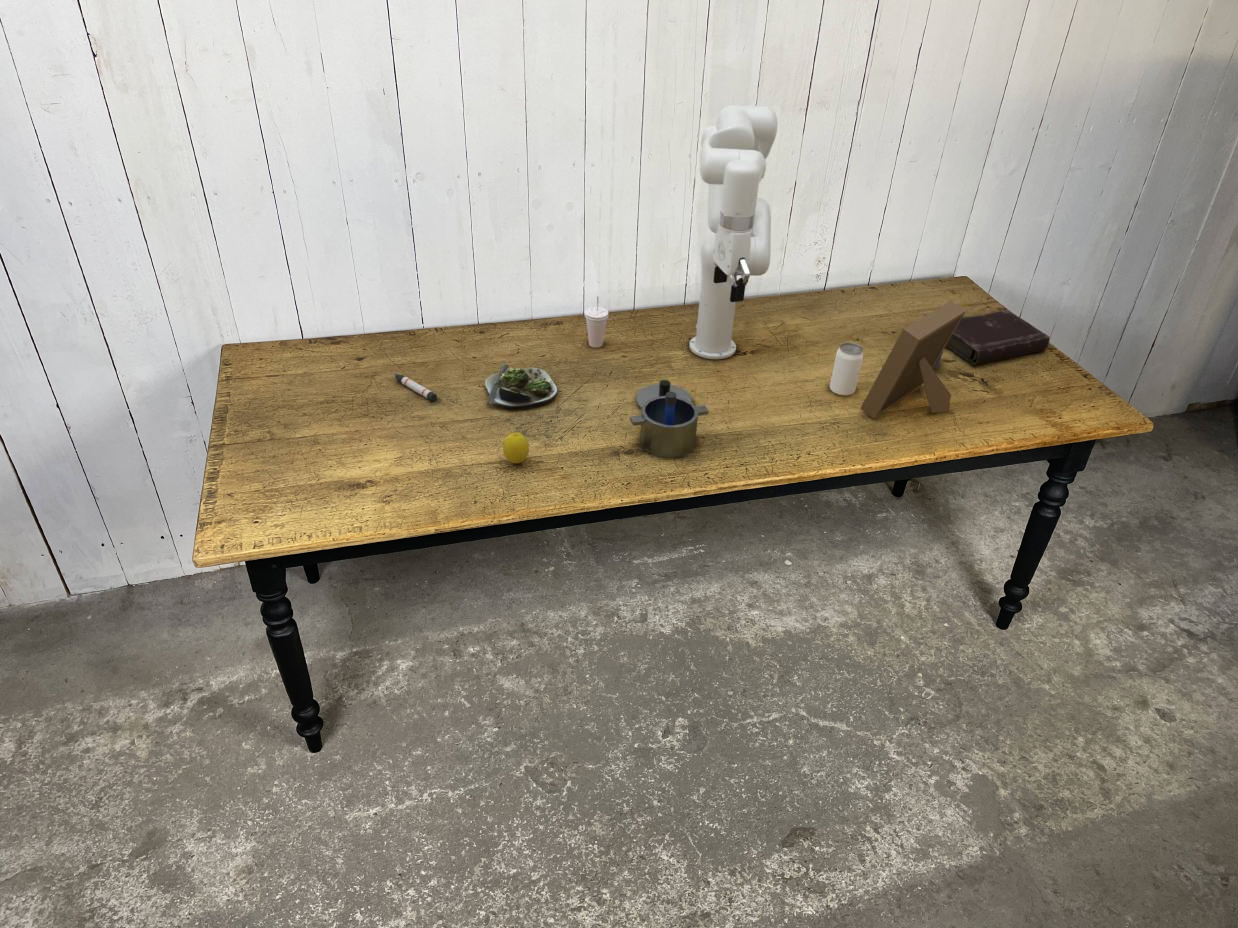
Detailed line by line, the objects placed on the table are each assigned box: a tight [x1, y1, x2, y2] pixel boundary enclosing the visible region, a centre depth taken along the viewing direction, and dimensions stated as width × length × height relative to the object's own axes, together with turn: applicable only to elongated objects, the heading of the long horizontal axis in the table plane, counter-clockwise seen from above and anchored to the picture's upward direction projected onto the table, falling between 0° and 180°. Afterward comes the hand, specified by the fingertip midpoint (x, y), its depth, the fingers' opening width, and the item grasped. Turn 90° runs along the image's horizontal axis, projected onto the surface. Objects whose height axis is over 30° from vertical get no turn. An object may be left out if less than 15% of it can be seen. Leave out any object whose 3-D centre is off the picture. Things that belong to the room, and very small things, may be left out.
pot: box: [629, 396, 709, 459], centre depth 196 cm, size 13×18×8 cm
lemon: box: [502, 432, 530, 464], centre depth 188 cm, size 6×6×8 cm
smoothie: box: [584, 295, 610, 349], centre depth 230 cm, size 6×6×14 cm
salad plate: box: [484, 363, 558, 411], centre depth 213 cm, size 19×18×5 cm
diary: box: [945, 309, 1051, 366], centre depth 240 cm, size 19×25×5 cm
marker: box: [394, 373, 438, 402], centre depth 212 cm, size 15×2×2 cm, turn 49°
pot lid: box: [635, 379, 693, 410], centre depth 210 cm, size 14×14×6 cm
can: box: [829, 342, 864, 397], centre depth 216 cm, size 6×6×12 cm
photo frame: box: [859, 300, 967, 420], centre depth 206 cm, size 15×22×25 cm
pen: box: [664, 392, 677, 425], centre depth 194 cm, size 2×2×12 cm
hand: (728, 291), depth 199 cm, fingers open, 9 cm apart
